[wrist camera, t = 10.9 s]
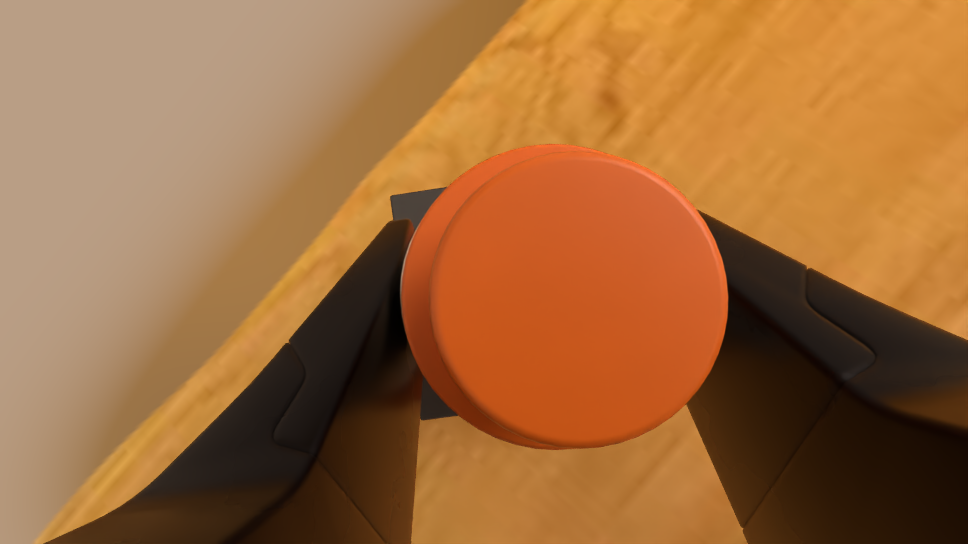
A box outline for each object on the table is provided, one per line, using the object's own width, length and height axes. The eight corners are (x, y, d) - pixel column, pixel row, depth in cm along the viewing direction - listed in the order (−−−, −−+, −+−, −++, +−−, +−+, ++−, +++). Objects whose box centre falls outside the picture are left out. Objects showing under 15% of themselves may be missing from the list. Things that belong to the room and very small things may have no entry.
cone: (642, 384, 15) (1269, 809, 3) (424, 414, 16) (107, 929, 3) (608, 167, 16) (1039, -322, 3) (395, 200, 16) (-4, -133, 3)
